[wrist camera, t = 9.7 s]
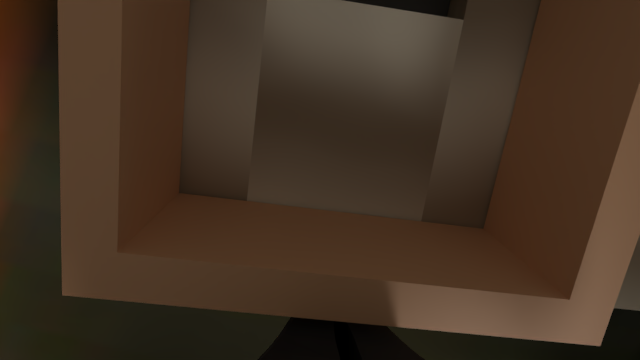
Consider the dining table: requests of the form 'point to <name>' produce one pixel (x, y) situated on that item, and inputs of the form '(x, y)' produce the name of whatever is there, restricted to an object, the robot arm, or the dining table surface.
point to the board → (357, 106)
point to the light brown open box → (348, 228)
